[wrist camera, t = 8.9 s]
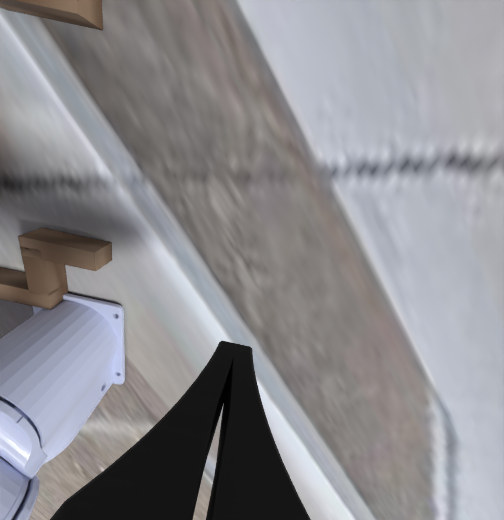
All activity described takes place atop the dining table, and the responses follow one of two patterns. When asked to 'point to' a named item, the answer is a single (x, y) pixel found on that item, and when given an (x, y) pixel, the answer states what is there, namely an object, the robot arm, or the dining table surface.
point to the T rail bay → (45, 240)
